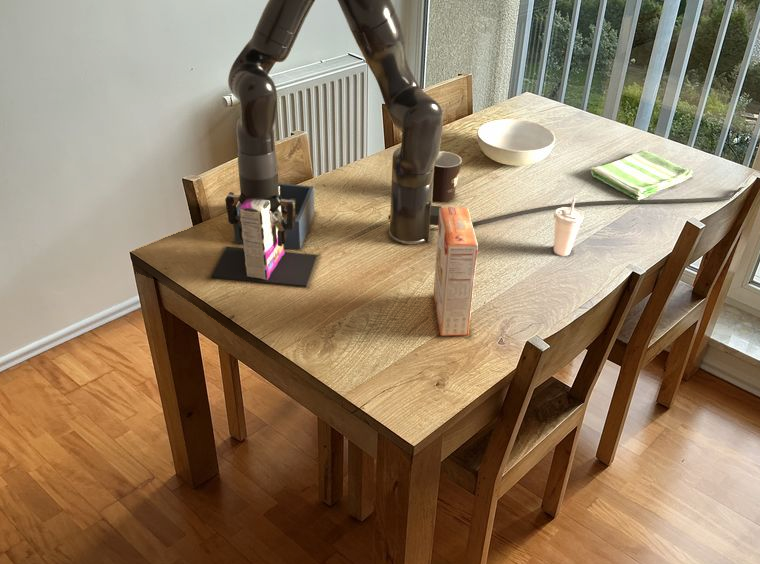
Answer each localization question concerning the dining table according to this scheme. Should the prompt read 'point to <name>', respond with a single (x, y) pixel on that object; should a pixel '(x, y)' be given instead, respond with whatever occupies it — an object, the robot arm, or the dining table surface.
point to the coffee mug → (446, 176)
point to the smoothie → (566, 228)
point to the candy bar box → (259, 238)
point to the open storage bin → (302, 206)
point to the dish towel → (641, 174)
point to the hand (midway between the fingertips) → (263, 242)
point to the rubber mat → (287, 272)
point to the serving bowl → (515, 141)
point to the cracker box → (454, 270)
